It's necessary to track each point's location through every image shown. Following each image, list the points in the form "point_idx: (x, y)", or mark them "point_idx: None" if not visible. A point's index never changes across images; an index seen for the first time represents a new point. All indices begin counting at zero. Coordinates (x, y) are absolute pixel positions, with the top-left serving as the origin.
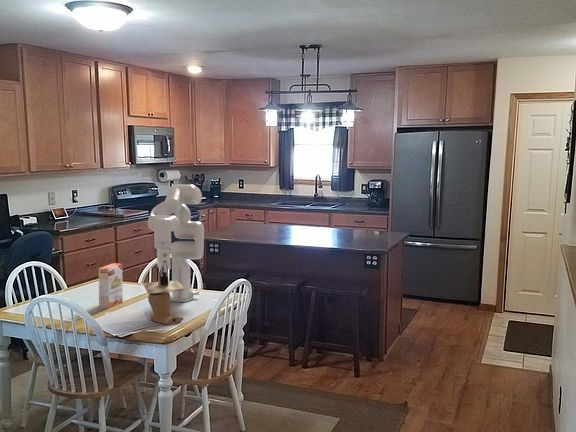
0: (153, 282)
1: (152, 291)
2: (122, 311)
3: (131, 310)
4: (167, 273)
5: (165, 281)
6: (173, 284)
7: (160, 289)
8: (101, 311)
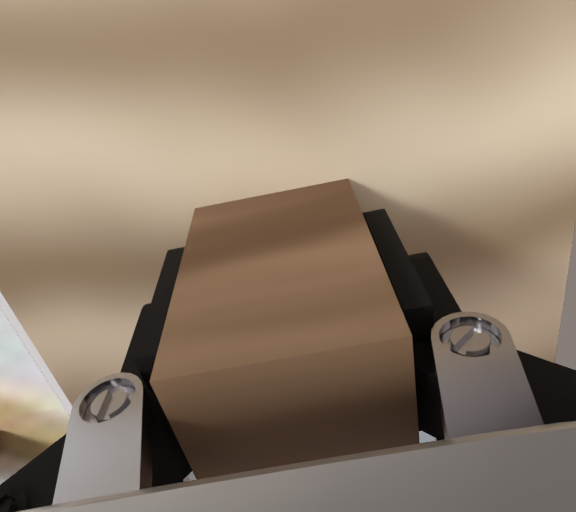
0: (80, 389)
1: (551, 359)
2: (49, 372)
3: (19, 331)
4: (387, 353)
5: (433, 277)
6: (215, 87)
7: (514, 281)
8: (40, 452)
